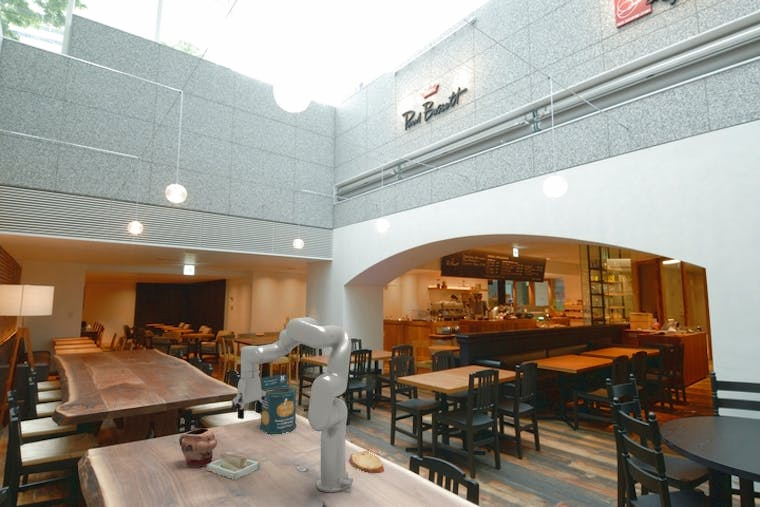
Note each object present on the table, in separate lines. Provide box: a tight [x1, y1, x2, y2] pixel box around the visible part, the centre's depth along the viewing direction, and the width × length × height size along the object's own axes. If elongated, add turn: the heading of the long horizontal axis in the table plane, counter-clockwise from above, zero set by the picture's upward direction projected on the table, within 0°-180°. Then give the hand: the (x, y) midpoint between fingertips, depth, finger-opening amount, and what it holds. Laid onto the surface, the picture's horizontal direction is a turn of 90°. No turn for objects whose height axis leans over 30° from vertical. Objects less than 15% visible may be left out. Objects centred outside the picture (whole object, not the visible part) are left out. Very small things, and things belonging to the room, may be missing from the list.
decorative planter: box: [178, 428, 218, 468], centre depth 173 cm, size 20×12×14 cm, turn 76°
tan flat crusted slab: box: [348, 449, 385, 474], centre depth 168 cm, size 18×18×4 cm
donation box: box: [259, 374, 297, 435], centre depth 219 cm, size 16×16×28 cm
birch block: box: [220, 451, 248, 472], centre depth 165 cm, size 4×12×5 cm, turn 58°
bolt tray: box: [206, 458, 261, 479], centre depth 165 cm, size 18×12×2 cm
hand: (250, 415), depth 169 cm, fingers open, 9 cm apart
